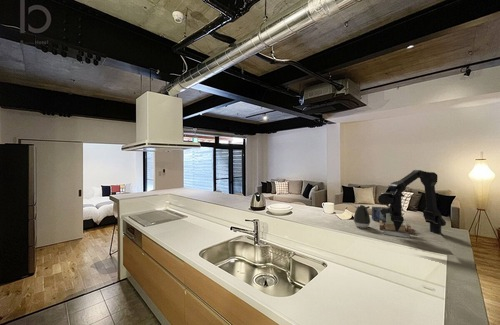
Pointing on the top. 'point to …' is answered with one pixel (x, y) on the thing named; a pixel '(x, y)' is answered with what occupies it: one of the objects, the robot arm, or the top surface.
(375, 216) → the small box
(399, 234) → the grey mat
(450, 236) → the top surface
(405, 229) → the walnut rack
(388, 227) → the offcut bundle
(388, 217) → the pale green block
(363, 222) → the dark grey egg figure
